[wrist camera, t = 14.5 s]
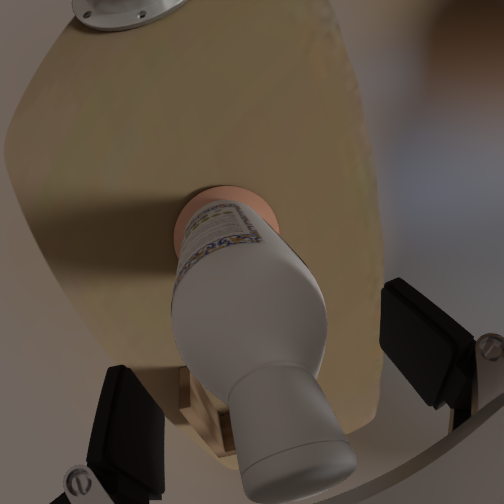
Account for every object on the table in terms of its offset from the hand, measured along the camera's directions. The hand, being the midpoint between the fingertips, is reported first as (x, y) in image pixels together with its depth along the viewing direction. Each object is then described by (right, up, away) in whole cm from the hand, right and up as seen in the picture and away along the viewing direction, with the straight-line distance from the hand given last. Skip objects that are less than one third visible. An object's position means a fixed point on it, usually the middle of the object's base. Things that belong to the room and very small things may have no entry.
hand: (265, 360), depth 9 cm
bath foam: (-3, +5, +14) cm, 15 cm away
